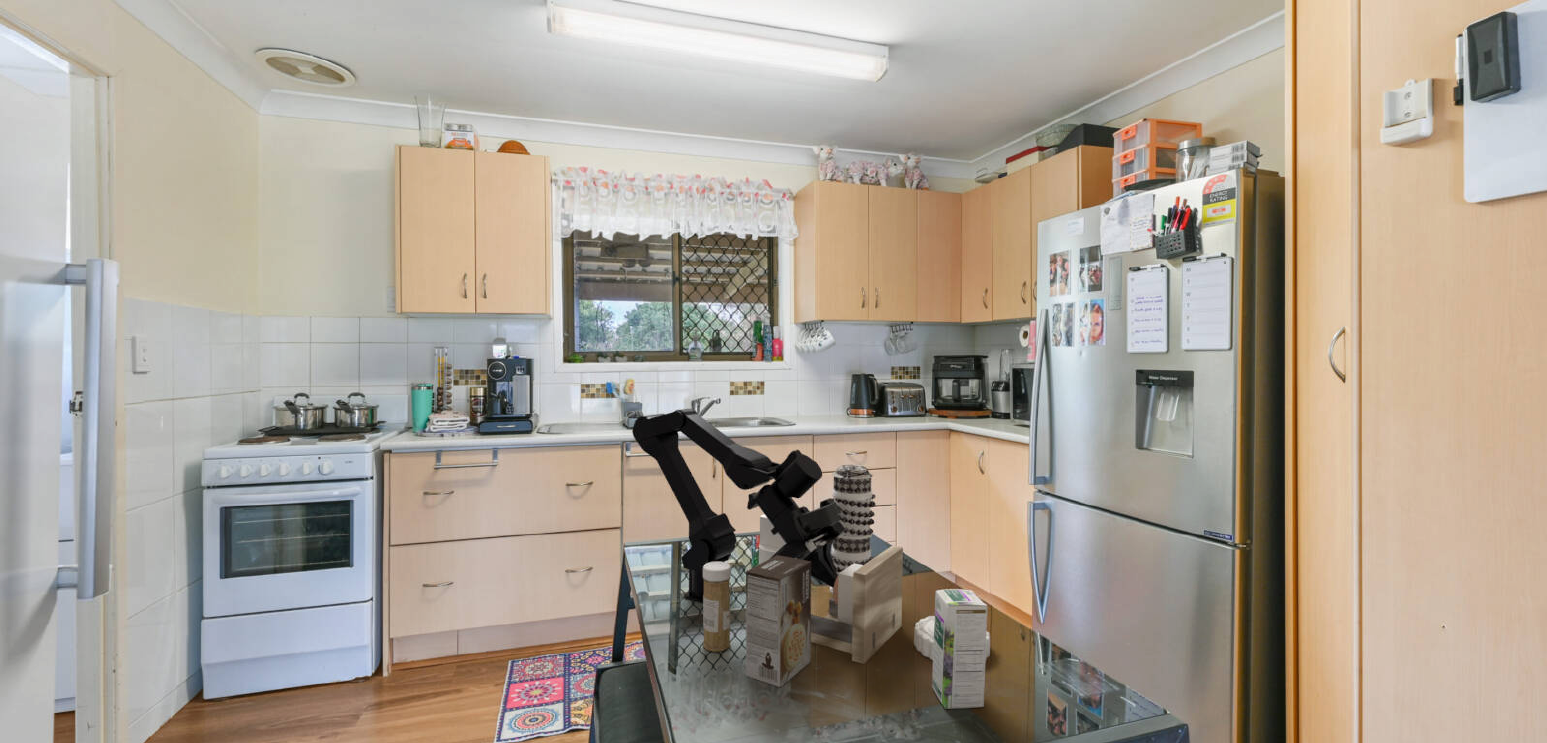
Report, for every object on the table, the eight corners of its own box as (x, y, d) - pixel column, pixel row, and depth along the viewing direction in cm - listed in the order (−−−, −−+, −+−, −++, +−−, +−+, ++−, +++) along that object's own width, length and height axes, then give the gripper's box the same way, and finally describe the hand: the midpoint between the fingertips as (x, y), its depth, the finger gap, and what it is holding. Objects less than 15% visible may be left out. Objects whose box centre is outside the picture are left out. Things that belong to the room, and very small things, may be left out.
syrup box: (930, 687, 94) (932, 589, 93) (970, 686, 94) (972, 588, 94) (944, 710, 88) (946, 605, 87) (986, 708, 88) (989, 604, 88)
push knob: (831, 630, 109) (831, 572, 108) (846, 618, 114) (847, 562, 113) (865, 640, 106) (866, 579, 105) (879, 626, 111) (880, 568, 110)
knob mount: (796, 644, 107) (797, 560, 106) (839, 610, 120) (840, 536, 120) (863, 664, 100) (865, 575, 100) (901, 626, 114) (902, 547, 113)
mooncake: (1004, 664, 101) (1004, 641, 101) (931, 669, 99) (932, 646, 99) (968, 630, 113) (969, 610, 113) (903, 634, 111) (903, 614, 111)
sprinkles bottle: (735, 648, 105) (736, 566, 104) (710, 655, 103) (711, 572, 102) (721, 637, 109) (722, 558, 108) (697, 644, 106) (697, 563, 106)
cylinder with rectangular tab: (808, 571, 141) (808, 516, 140) (786, 584, 133) (787, 526, 133) (773, 563, 146) (773, 510, 145) (750, 575, 138) (751, 519, 138)
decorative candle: (883, 595, 128) (885, 469, 127) (843, 602, 124) (845, 473, 123) (857, 579, 136) (859, 461, 135) (819, 586, 132) (821, 464, 131)
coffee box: (776, 652, 104) (777, 553, 103) (811, 662, 101) (813, 560, 100) (744, 676, 96) (744, 570, 96) (780, 689, 93) (782, 579, 92)
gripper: (784, 496, 105) (845, 577, 100) (836, 477, 121) (890, 545, 116) (744, 536, 110) (800, 615, 105) (799, 512, 126) (850, 580, 120)
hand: (838, 587), depth 111 cm, fingers closed, pressing on push knob
